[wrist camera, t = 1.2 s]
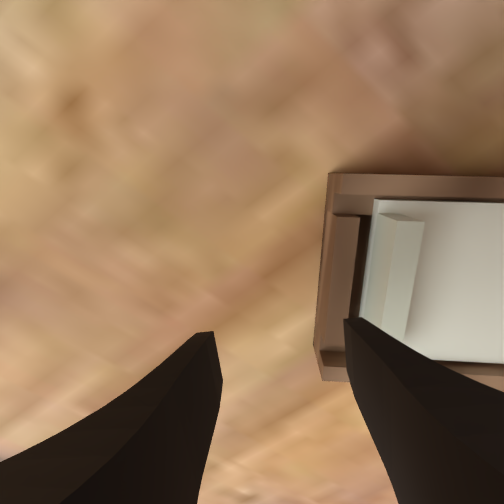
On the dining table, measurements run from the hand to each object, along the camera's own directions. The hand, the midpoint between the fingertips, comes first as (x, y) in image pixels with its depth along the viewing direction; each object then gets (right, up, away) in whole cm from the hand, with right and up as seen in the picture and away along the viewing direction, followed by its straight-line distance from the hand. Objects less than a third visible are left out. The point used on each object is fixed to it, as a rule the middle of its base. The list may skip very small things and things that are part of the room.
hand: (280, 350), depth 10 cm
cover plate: (+11, +2, +7) cm, 13 cm away
